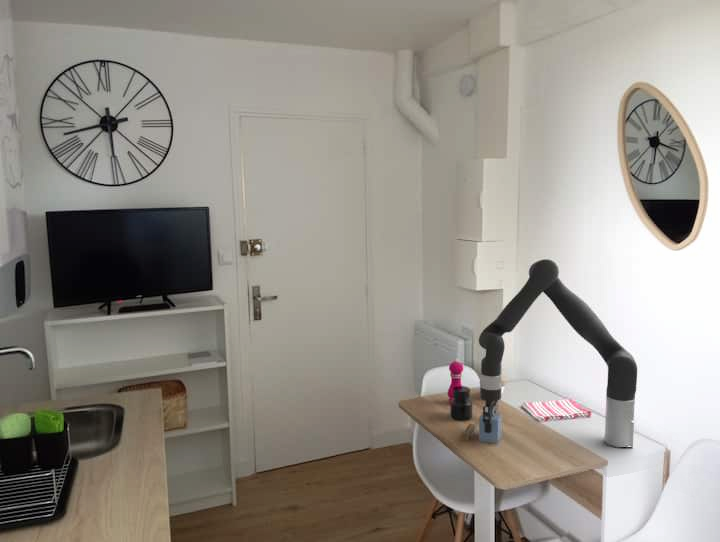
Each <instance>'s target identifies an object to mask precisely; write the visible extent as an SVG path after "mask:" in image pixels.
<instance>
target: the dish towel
mask: <svg viewBox="0 0 720 542" xmlns="http://www.w3.org/2000/svg"><path fill="white" fill-rule="evenodd" d="M521 407H522V408H523V409H524V410H525V411H526V412H527V413H529V415H530V416H531V417H533V419H535V420H537V421H538V422H541V421H544V422H551V420H554V421H561V420H562V421H563V420H573V419H585V418H586V419H587V418H591V416H593V415H592V413H593V412H592V410H590V409H587V408H583V407H582V406H581V405H580V404H578V403H577V402H576V401H575V400H574V399H573V398H566V399H560V400H559V399H558V400H551V401H550V400H547V401H533V402H523V403H522V404H521ZM541 423H542V422H541Z"/></svg>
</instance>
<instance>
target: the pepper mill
mask: <svg viewBox="0 0 720 542" xmlns="http://www.w3.org/2000/svg"><path fill="white" fill-rule="evenodd" d="M463 365H464V364H462V363H461V362H459V359H458V358H454V360H453V362H451V363H450V364H449V366H448V371H449V372H450V374H449V375H450V376H449V377H450V378H451V382H450V385H449V388H448V390H447V396H448V398H449V399H448V404H449V405H450V402H451V400H452V399H453V388H454V387H456V386H463V385H462V377H463V373H462V372H464V366H463Z"/></svg>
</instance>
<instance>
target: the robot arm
mask: <svg viewBox="0 0 720 542" xmlns="http://www.w3.org/2000/svg"><path fill="white" fill-rule="evenodd" d="M559 273H560V271H559V266H558V265H557V263H556V262H555V261H553V260H551V259H547V258H546V259H540V260H537V261H535V262H534V263H532V265H530V267H529V270H528V276H529V278H528V279H527V281H526V283H525V284H524V285H523V287H522V288H520V290H519V291H518V293H517V294H515V295H514V296H513V298H512V299H511V300H510V301H508V303H507V304H506V306H505V307H504V308H503V309H502V311H501V312H500V313H499V314H498V315H497V317H496V318H495V320H493V321H492V322H491V323H489V324H488V325H487V326H486V327H485V328H484V329H483V330H482V331H481V333H480V335H479V337H478V344H479V346H480V347H481V348H482V349H484V350H485V356H484V357H483V358H482V359H481V362H480V363H481V364H480V365H481V366H480V379H479V393H480V395H479V396H480V399H481V400H484V401H485V403H483V407H482V412H483V423H485V433H491V422H492V418H493V417H494V413H498V410H499V409H498V408H499V405H498V402H499V401H500V400H501V399H502V397H501V380H502V360H503V357H504V353H505V340H504V338H503V336H504V334H506V333H512V332H513V330H515V328H516V326H517V325H518V324H519V323H520V321H521V320H522V319H523V317H524V315H525V314H527V312H528V310H529V309H530V308H531V307H532V305H533V303H534V302H535V301H536V300H537V299H538V298H539V297H540V296H541V294H545V296H546V297H547V298H548V299H549V300H550V301H551V302H552V303H553V305H554V307H555V308H556V309H557V310H558V312H559V313H560V314H561V315H562V316H563V318H564V319H565V320H566V322H567V323H568V324H569V326H571V328H572V329H573V330H574V331H575V332H576V333H577V334H578V335H579V336H580V337H582V339H583V340H585V341H587V343H588V344H590V345H591V346H593V348H594V349H595V350H596V351H597V353H598V355H600V356H601V359H602V360H603V361H604V362H605V364H606V366H607V383H606V384H607V385H606V397H605V419H604V420H605V421H604V422H605V423H604V426H605V427H604V442H605V444H607V445H609V446H611V445H612V446H611V447H614V446H617V447H616V448H618V447H628V446H631V447H634V431H635V430H634V429H635V404H636V403H635V402H636V400H635V399H636V393H637V392H636V391H637V383H638V382H637V381H638V365H637V362H636V359H635V357H634V356H633V355H632V354H631V353H630V352H629V351H628V350H626V349H625V348H624V347H623V346H622V345H621V343H619V341H617V340H616V339H615V338H614V337H613V336H612V335H611V333H610V331H608V329H607V327H606V326H605V324H604V322H602V320H601V319H600V317H598V315H597V314H596V313H595V312H594V310H593V309H592V308H591V306H589V304H588V303H586V302H585V301H584V300H583V299H582V298H581V297H579V296H578V295H577V294H575V293H574V292H573V291H571V290H570V289H569V288H568V287H567V286H566V285H565V284H564V283H563V281H562V280H561V279H560V278H559ZM486 417H488V420H487V419H486Z"/></svg>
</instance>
